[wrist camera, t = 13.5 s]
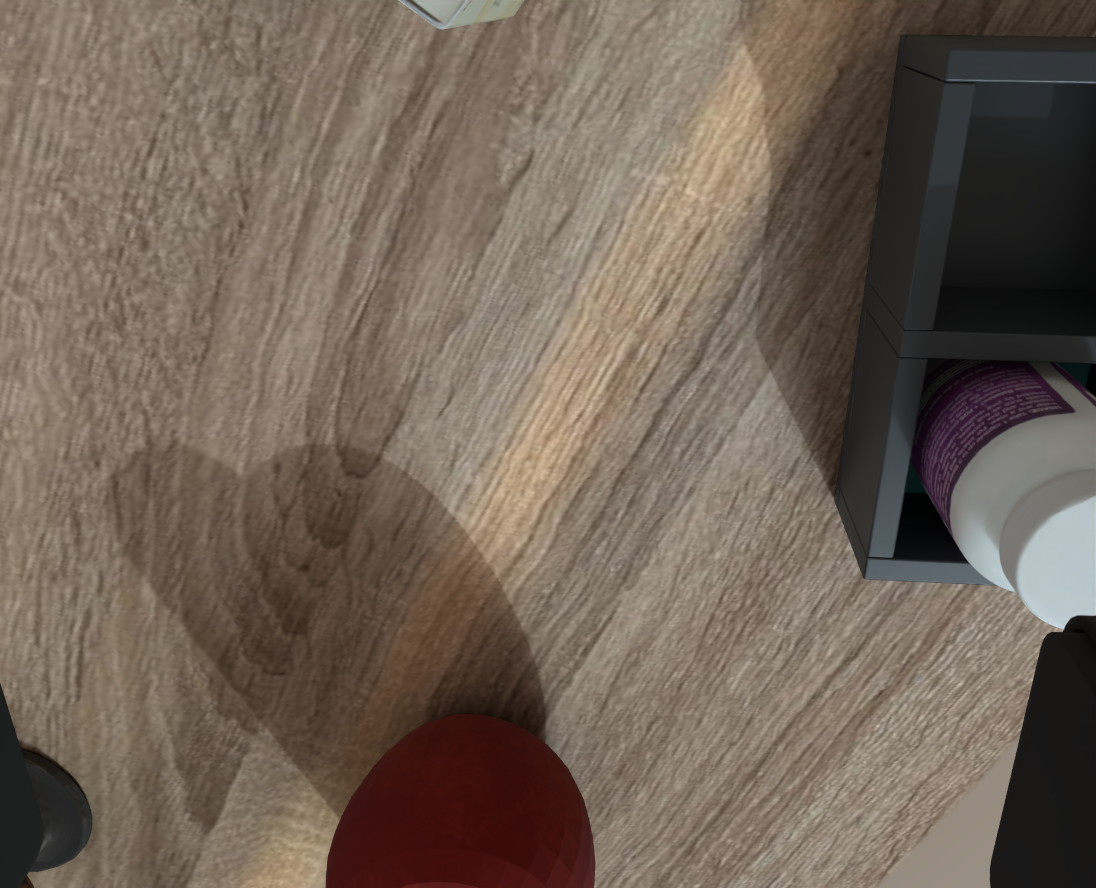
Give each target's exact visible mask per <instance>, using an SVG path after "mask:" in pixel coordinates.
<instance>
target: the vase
mask: <svg viewBox="0 0 1096 888" xmlns="http://www.w3.org/2000/svg"><path fill="white" fill-rule="evenodd" d="M21 751H22V754H23V758H24V761H25V764H26V767H27V770H28V774H29V777H30V780H31V783H32V786H33V789H34V793H35V796H36V799H37V802H38V805H39V809H40V812H41V815H42V819H43V824H44V834H43V841H42V846H41V849H40V852H39V855H38V857H37V859H36V861H35V863H34V865H33V866H32V868H31V869H30V871H29V872H39V871H43V870H47V869H50V868H54V867H58V866H60V865H62V864H64V863H66V862H68V861H70V860H72V859H73V858H75V857H76V856H77V854H78V853H79V852H80V851H81V850H82V849H83V848H84V847H85V845H86V844H87V842H88V839H89V837H90V834H91V830H92V815H91V810H90V808H89V806H88V803H87V801H86V799H85V797H84V795H83V793H82V792H81V790H80V789H79V788H78V786H77V785H76V784H75V783H74V781H73V780H72V779H71V778H70V777H69V776H68V775H66V774H65V773H64V772H63V771H62V770H60V769H59V768H58V767H56V766H55V765H54V764H52V763H51V762H49V761H47V760H46V759H44V758H43V757H40V756H38V755H36V754H34V753H31V752H28V751H25V750H21ZM19 888H34V886H33V884H32V883H31V881H30V879H29V878H28V876H27V875H26V877H25V879H24V880H23V882H22V883H21V885H20V886H19Z"/></svg>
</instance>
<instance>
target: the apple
mask: <svg viewBox="0 0 1096 888" xmlns="http://www.w3.org/2000/svg"><path fill="white" fill-rule="evenodd" d="M594 880H595V854H594V844H593V836H592V831H591V827H590V822H589V817H588V814H587V810H586V806H585V803H584V799H583V797H582V795H581V793H580V791H579V789H578V787H577V785H576V783H575V781H574V779H573V777H572V775H571V773H570V771H569V769H568V768H567V766H566V765H565V764H564V763H563V762H562V760H561V759H560V758H559V757H558V756H557V754H556V753H555V752H554V751H553V750H552V749H551V748H550V747H549V746H548V745H547V744H545V743H544V742H543V741H542V740H540V739H539V738H538V737H537V736H536V735H534V734H533V733H531V732H529V731H527V730H525V729H524V728H522V727H520V726H518V725H516V724H513V723H510V722H507V721H505V720H502V719H499V718H496V717H491V716H487V715H481V714H458V715H450V716H447V717H443V718H439V719H436V720H433V721H431V722H428V723H426V724H424V725H422V726H420V727H418V728H416V729H414V730H413V731H411V732H410V733H409V734H408V735H406V736H405V737H404V738H403V739H402V740H400V741H399V742H398V743H397V744H396V745H394V746H393V747H392V748H391V749H390V750H388V751H387V752H386V753H385V755H384V756H383V757H382V758H381V759H380V760H379V761H378V762H377V764H376V765H375V766H374V767H373V769H372V770H371V771H370V772H369V774H368V775H367V776H366V778H365V779H364V780H363V782H362V783H361V784H360V786H359V787H358V789H357V790H356V792H355V793H354V794H353V796H352V797H351V799H350V801H349V803H348V805H347V807H346V809H345V811H344V813H343V815H342V817H341V819H340V822H339V824H338V826H337V829H336V831H335V834H334V837H333V841H332V844H331V848H330V851H329V855H328V861H327V871H326V888H594Z"/></svg>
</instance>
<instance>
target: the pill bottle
mask: <svg viewBox="0 0 1096 888" xmlns="http://www.w3.org/2000/svg"><path fill="white" fill-rule="evenodd" d="M927 360H928V362H927V367H926V373H925V379H924V385H923V390H922V396H921V402H920V408H919V413H918V419H917V425H916V431H915V436H914V442H913V448H912V453H911V459H910V463H911V465H912V466H913V468H914V470H915V471H916V473H917V475H918V476H919V479H920V481H921V482H922V484H923V486H924V488H925V490H926V492H927V493H928V495H929V497H930V499H931V501H932V502H933V504H934V506H935V507H936V509H937V511H938V512H939V514H940V516H941V518H942V520H943V522H944V523H945V525H946V527H947V528H948V530H949V532H950V533H951V535H952V537H953V539H954V540H955V542H956V544H957V546H958V547H959V549H960V551H961V552H962V554H963V555H964V557H965V558H966V559H967V561H968V562H969V563H970V564H971V565H972V566H973V568H974V569H975V570H977V571H978V572H979V573H980V574H981V575H982V576H983V577H985V578H986V579H988V580H989V581H991V582H992V583H994V584H996V585H998V586H1000V587H1002V588H1004V589H1007V590H1009V591H1012V592H1015V593H1017V595H1018V596H1019V597H1020V599H1021V600H1022V601H1023V603H1024V604H1025V605H1026V606H1027V608H1028V609H1029V610H1030V611H1031V612H1032V613H1033V614H1035V615H1036V616H1037V617H1038V618H1040V619H1041V620H1043V621H1044V622H1046V623H1048V624H1050V625H1053V626H1055V627H1058V628H1061V629H1064V628H1065V625H1066V624H1067V622H1068V621H1069V620H1070V618H1072V617H1074V616H1077V615H1091V616H1096V397H1095V396H1094V395H1093V394H1092V393H1091V392H1089V391H1088V390H1087V389H1086V388H1085V387H1084V386H1083V385H1082V384H1081V383H1079V382H1078V381H1077V380H1076V379H1075V378H1074V377H1073V376H1071V375H1070V374H1069V373H1068V372H1067V371H1066V370H1065V369H1064V368H1063V367H1061V366H1060V365H1059V364H1058V363H1057V362H1028V361H998V360H968V359H938V358H928V359H927Z"/></svg>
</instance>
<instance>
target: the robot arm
mask: <svg viewBox="0 0 1096 888" xmlns="http://www.w3.org/2000/svg"><path fill="white" fill-rule="evenodd" d="M43 834H44V824H43V819H42V815H41V812H40V809H39V805H38V802H37V799H36V796H35V793H34V789H33V786H32V783H31V780H30V777H29V774H28V770H27V767H26V764H25V761H24V758H23V754H22V751H21V748H20V745H19V742H18V738H17V735H16V732H15V729H14V726H13V722H12V719H11V716H10V713H9V710H8V707H7V703H6V700H5V697H4V694H3V691H2V687H1V684H0V888H19V886H20V885H21V883H22V882H23V880H24V879H25V877H26V875H27V874H28V872H29V871H30V869H31V868H32V866H33V865H34V863H35V861H36V859H37V857H38V855H39V852H40V849H41V846H42V841H43ZM990 886H991V888H1096V616H1091V615H1077V616H1074V617H1072V618H1070V620H1069V621H1068V622H1067V624H1066V625H1065V628H1064V631H1063V632H1051V633H1048V634H1047V635H1046V637H1045V638H1044V640H1043V643H1042V646H1041V649H1040V653H1039V657H1038V662H1037V666H1036V670H1035V675H1034V679H1033V683H1032V687H1031V692H1030V696H1029V700H1028V705H1027V709H1026V713H1025V717H1024V722H1023V726H1022V730H1021V735H1020V739H1019V743H1018V748H1017V752H1016V756H1015V760H1014V765H1013V769H1012V773H1011V778H1010V782H1009V786H1008V791H1007V795H1006V799H1005V804H1004V808H1003V812H1002V816H1001V820H1000V825H999V829H998V833H997V837H996V842H995V846H994V850H993V855H992V859H991V865H990Z"/></svg>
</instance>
